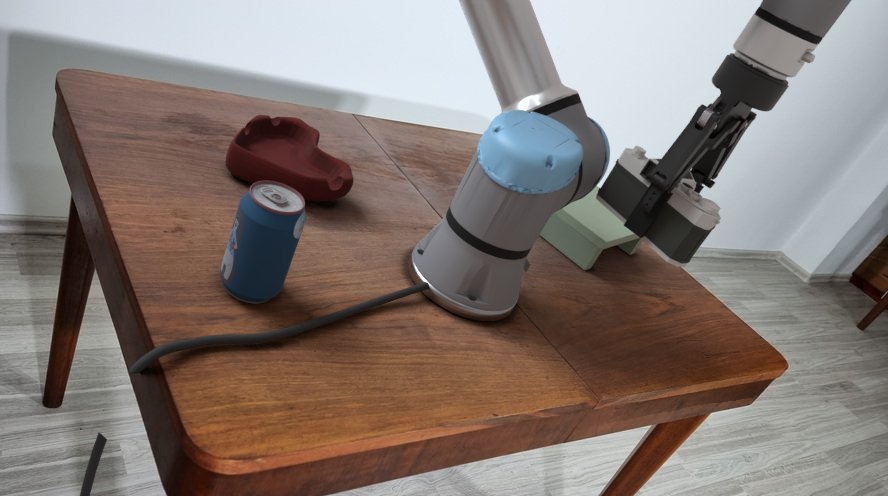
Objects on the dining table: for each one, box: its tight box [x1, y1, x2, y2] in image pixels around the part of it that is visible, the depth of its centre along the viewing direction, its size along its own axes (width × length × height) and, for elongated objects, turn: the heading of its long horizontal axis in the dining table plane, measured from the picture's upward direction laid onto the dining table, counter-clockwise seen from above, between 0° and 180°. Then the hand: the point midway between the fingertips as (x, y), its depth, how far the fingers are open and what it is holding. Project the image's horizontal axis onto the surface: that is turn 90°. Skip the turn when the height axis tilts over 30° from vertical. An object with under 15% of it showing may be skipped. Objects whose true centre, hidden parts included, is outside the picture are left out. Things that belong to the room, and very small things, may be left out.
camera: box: [596, 145, 722, 268], centre depth 89 cm, size 16×9×10 cm, turn 30°
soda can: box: [219, 181, 307, 305], centre depth 75 cm, size 7×7×12 cm
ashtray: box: [224, 114, 355, 206], centre depth 98 cm, size 18×16×5 cm
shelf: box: [539, 185, 644, 271], centre depth 119 cm, size 18×14×6 cm
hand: (650, 226), depth 92 cm, fingers closed on camera, 9 cm apart
